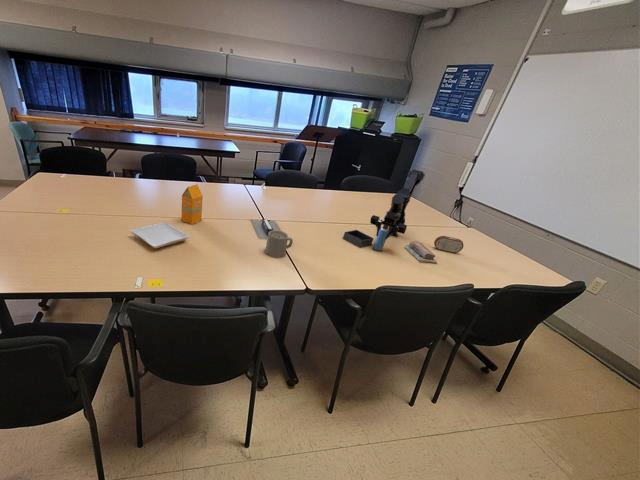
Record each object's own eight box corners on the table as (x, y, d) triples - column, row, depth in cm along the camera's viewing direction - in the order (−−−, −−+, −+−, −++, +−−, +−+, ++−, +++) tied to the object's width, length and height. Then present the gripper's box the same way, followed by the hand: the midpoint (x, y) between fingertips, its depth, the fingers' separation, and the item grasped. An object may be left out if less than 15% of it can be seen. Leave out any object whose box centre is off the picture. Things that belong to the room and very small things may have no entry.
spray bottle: (374, 245, 180) (383, 222, 172) (382, 248, 177) (392, 225, 170) (372, 248, 176) (380, 224, 169) (380, 251, 174) (389, 227, 166)
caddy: (354, 235, 191) (356, 229, 189) (371, 244, 182) (373, 238, 180) (342, 238, 185) (344, 231, 183) (359, 247, 177) (362, 240, 175)
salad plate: (190, 241, 158) (190, 235, 157) (154, 252, 145) (154, 246, 143) (165, 227, 170) (165, 221, 168) (129, 236, 156) (129, 229, 154)
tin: (458, 252, 187) (465, 240, 182) (459, 255, 184) (467, 242, 180) (431, 246, 190) (437, 233, 186) (432, 248, 188) (438, 235, 183)
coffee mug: (267, 256, 154) (270, 238, 149) (263, 247, 162) (266, 229, 157) (293, 258, 156) (297, 239, 151) (288, 249, 165) (292, 231, 159)
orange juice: (201, 220, 184) (203, 186, 173) (191, 224, 177) (192, 188, 166) (191, 216, 187) (192, 182, 176) (181, 220, 180) (181, 185, 169)
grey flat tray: (259, 238, 172) (260, 231, 170) (251, 220, 192) (252, 213, 190) (285, 239, 175) (286, 232, 172) (274, 221, 195) (275, 215, 193)
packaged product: (407, 239, 182) (423, 241, 183) (404, 247, 185) (420, 248, 185) (423, 254, 167) (441, 255, 168) (419, 262, 169) (436, 263, 170)
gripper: (377, 200, 171) (364, 224, 169) (413, 210, 163) (400, 236, 161) (376, 211, 181) (364, 234, 179) (410, 221, 172) (398, 245, 171)
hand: (381, 237), depth 172 cm, fingers closed on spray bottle, 5 cm apart
